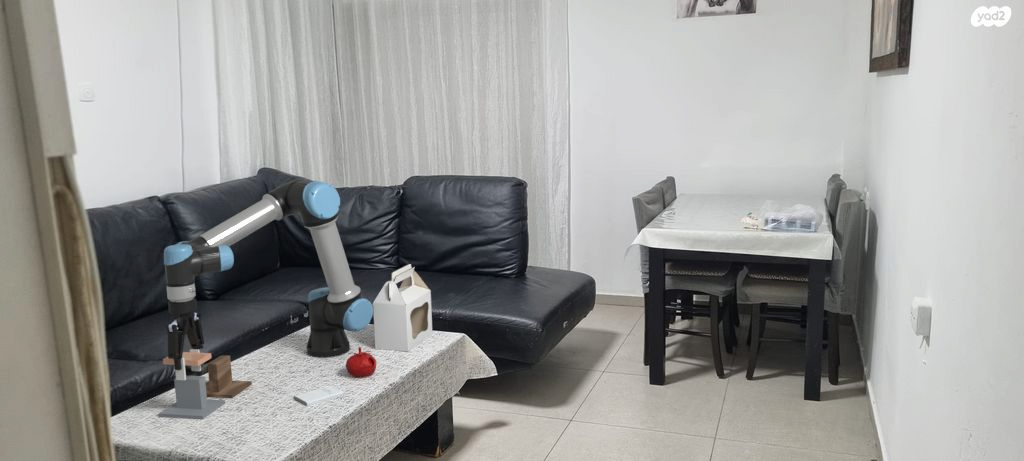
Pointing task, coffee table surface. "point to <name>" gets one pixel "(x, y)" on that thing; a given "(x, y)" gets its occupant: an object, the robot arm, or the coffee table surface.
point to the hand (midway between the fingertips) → (188, 375)
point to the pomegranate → (361, 364)
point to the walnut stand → (223, 379)
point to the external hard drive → (318, 395)
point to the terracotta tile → (190, 358)
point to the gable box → (402, 312)
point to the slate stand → (191, 400)
